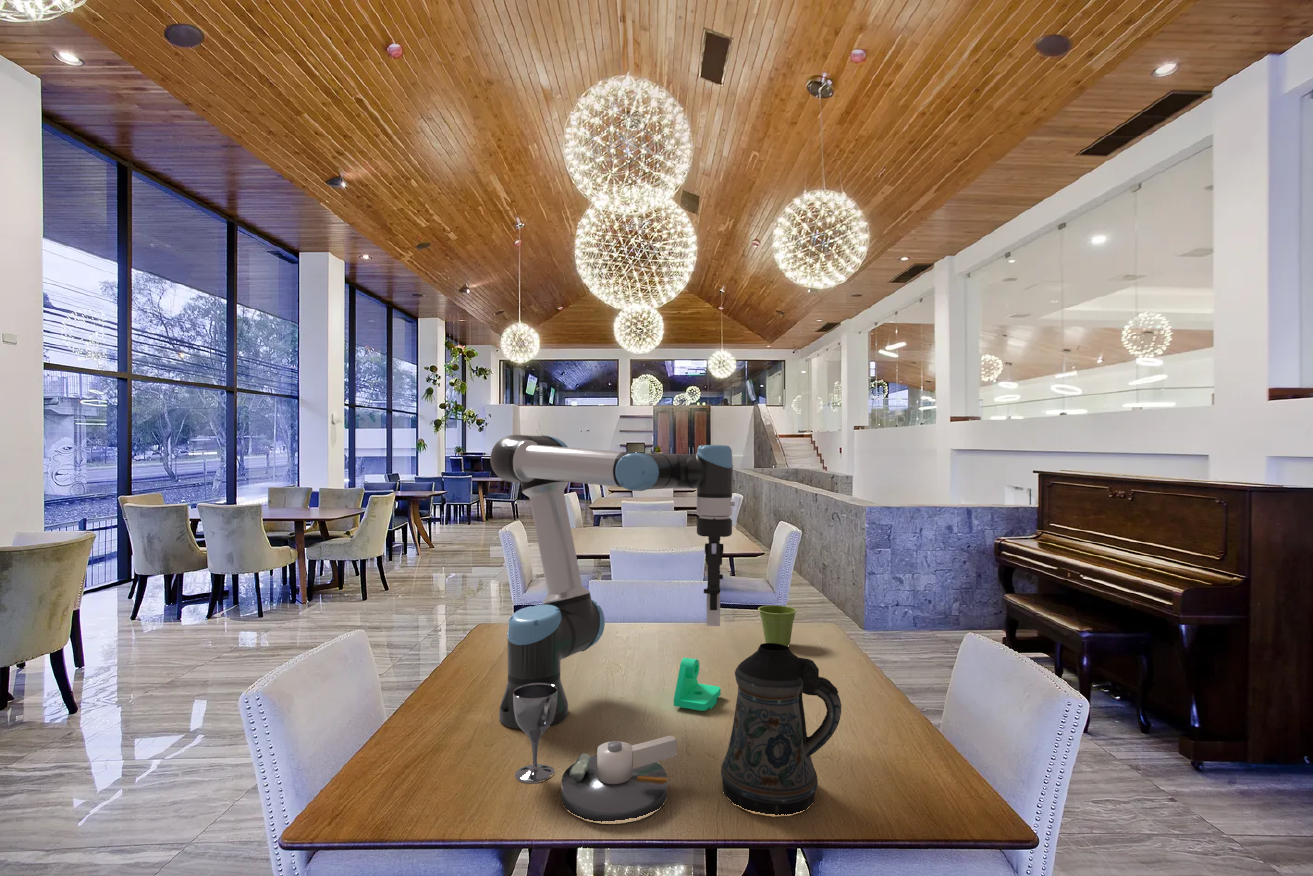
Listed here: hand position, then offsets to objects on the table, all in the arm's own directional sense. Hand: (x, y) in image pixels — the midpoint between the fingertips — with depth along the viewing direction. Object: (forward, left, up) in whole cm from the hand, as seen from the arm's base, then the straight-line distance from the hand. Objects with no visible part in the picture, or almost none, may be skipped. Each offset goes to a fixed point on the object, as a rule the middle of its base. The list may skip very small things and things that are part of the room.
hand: (713, 617), depth 135 cm
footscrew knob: (-12, -25, -20) cm, 35 cm away
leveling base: (-15, -28, -24) cm, 40 cm away
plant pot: (+16, +65, -24) cm, 71 cm away
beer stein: (+12, -23, -24) cm, 36 cm away
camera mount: (-4, +15, -24) cm, 29 cm away
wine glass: (-31, -23, -24) cm, 46 cm away
